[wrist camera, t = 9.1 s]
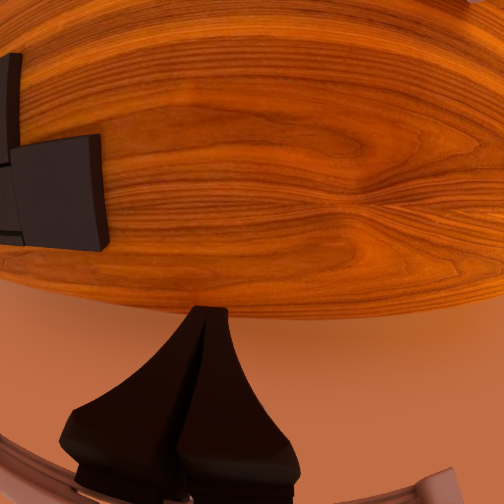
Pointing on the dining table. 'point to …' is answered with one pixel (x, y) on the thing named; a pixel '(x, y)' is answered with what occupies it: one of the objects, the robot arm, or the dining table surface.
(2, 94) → the big pad
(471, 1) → the cosmetic box
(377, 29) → the dining table surface
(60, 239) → the small pad
